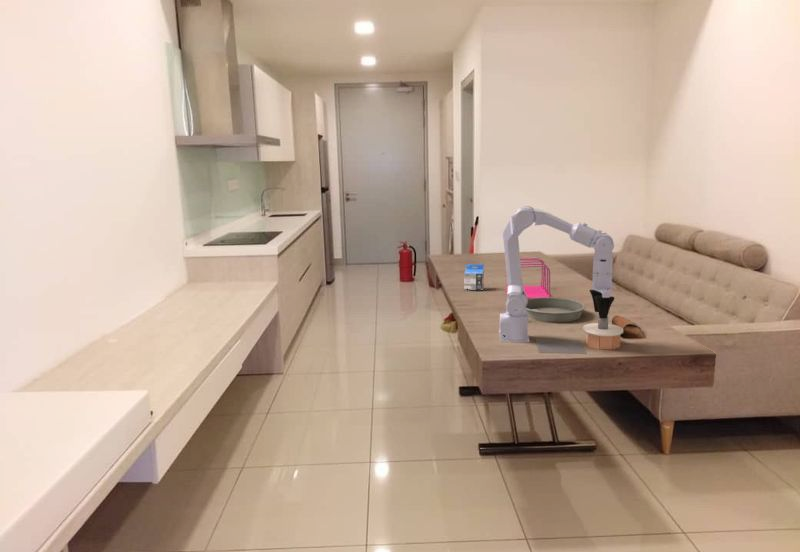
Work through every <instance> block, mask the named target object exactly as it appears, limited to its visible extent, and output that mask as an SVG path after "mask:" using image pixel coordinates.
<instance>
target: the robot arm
mask: <svg viewBox="0 0 800 552" xmlns="http://www.w3.org/2000/svg"><path fill="white" fill-rule="evenodd" d="M534 223H535V224H534ZM533 224H534V226H540V225H541V226H543V225H544V226H545V225H546V226H549V227H550V228H553V229H555V230H558V231H560V232H564V233H566V234H568V235H569V238H570V239H571V241H573V242H576V243H578V244H580V245H582V246H585V247H587V248H589V249H591V248H593V250H594V256H593V260H592V261H593V262H592V264H593V265H592V280H591V281H592V282H591V283H592V284H591V289H589V292H590V295H591V298H592V301H593V309H594V312H595V313H598V317H600V318H607V317H609V312H610V308H611V306H612V304H613V302H614V301H615V296H611V291H613V290H616V288H617V287H616V285H613V268H614V267H613V264H614V263H613V261H614V260H613V255H614V252H613V251H614V248H615V243H614V239H613V237H612V236H611V235H610V234H608V233H606V232H603V231H602V230H600V229H598V230H597V229H594V228H593V227H589V226H588V224H587V223H586V222H583V223H581V222H577V223H574V224H572V223H570V222H568V221H566V220H564V219H563V218H560V217H558V216H555V215H553V214H552V213H550V212H549V211H548V212H547V211H544V210H542V209H539V208H534V207H532V206H530V205H526V206H522V207H520V208H518V209H517V210H516V211H515V212H514V213H513V214H512V215H511V216H510V218H509V221H508V222H507V224H506V225H505V227H504V229H503V232H502V239H503V249H504V250H503V251H504V258H505V260H504V261H505V269H506V278H507V281H506V282H507V286H508V292H507V291H506V294H507V299H506V302H505V310H506V311H505V312H504V313H499V329H498V335H499V341H500V340H505V341H514V343H515V342H516V343H530V342H531V341H530V336H529V318H528V312H527V310H526V309H525V307H526V305H527V304H528V297H527V295H526V294H525V292H524V286H525V285H524V284H523V273H522V268H521V266H522V265H521V264H522V263H521V262H522V260H520V258H521V253H520V243H519V236H520V235H521V234H522V233H523V231H525V230H526V229H528V228H529V227H531V226H532V225H533ZM503 336H504V337H503Z"/></svg>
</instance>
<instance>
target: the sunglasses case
mask: <svg viewBox="0 0 800 552" xmlns="http://www.w3.org/2000/svg"><path fill="white" fill-rule="evenodd" d="M611 324H613V325H617V326H620V327H622V328H623V334H621V336H620V338H622V339H630V340H631V339H633V340H634V339H636V340H637V339H638V340H645V339H646V337H645V335H644V334H643V331H642V330H641V329H640V327H639V326H638V325H637V323H636V322H634V321H632V320H629V318H626V317H623V316H621V315H614V317H612V319H611Z"/></svg>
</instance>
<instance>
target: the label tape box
mask: <svg viewBox="0 0 800 552" xmlns="http://www.w3.org/2000/svg"><path fill="white" fill-rule="evenodd" d="M484 272H485V269H484V264H480V263H479V264H477V263H475V264H474V263H465V271H464V274H463V277H464V279H463V281H464V282H463V284H464V285H463V288H464V289H470V290H483V289H484V290H485V287H484V286H485V284H484V283H485V277H484V276H485V275H484ZM464 289H463V290H464ZM484 290H483V291H484Z"/></svg>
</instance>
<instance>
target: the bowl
mask: <svg viewBox="0 0 800 552" xmlns="http://www.w3.org/2000/svg"><path fill="white" fill-rule="evenodd" d="M585 334H586V337H585V340H586V341H585V343H586V345H587V347H590V348H592V349H593V348H594V349H597V350H615V349H618V348H620V347H621V337H620V336H621V335H617V336H597V335H592V334H588V333H586V332H585Z"/></svg>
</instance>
